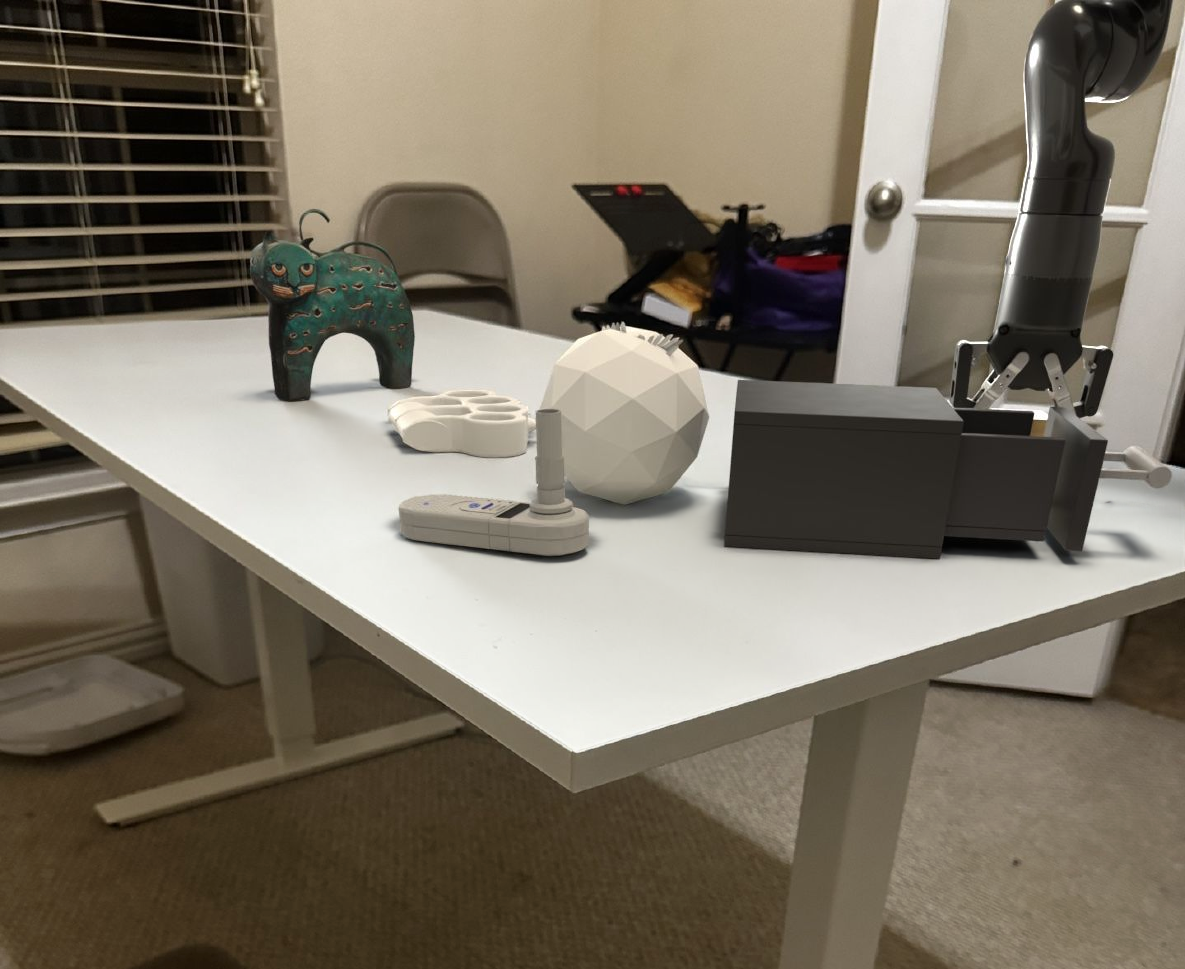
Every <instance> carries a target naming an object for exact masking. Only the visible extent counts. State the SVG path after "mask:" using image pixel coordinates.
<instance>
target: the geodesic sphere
mask: <svg viewBox="0 0 1185 969" xmlns="http://www.w3.org/2000/svg"><path fill="white" fill-rule="evenodd" d="M673 336H674V334H671V333H670V334H668V335H666V336H664V334H663V333H659V332H657V331H653V330H648V329H644V328H638V327H633V326H627V325H626V323H625V322H624V321H621V323H619V322H616V323H615V322H612V323H611V326H610V325H609V324H607V325H606V327H605V326H604V325H603V326H602V327H601V330H600V331H597V332H594V333H591V334H588V335H585V336H582V337H579V338H577V339H576V340H575V341H574V342H573V343H572V344H571V346H570V347H569V348H568V349H567V350H566V351H565V352H563V354H562V356H561V357H559V358H558V360H557V361H555V363H554V364H553V368H552V371H551V374H550V376H549V379H548V383H547V385H546V389H545V392H544V394H543V397H542V400H541V404H540V406H539V409H538V410H540V409H558V410H561V432H562V456H563V457H564V478H566V480H567V481H568V482H569V483H570V484H571V485H572V486H573V487H574V488H575V489H576V490H577V491H578V492H579V493H582V494H583V493H584V494H585V495H589V496H592V497H596V498H599V499H603V500H606V501H610V502H613V503H617V504H620V505H624V506H625V505H628V504H632V503H635V502H638V501H642V500H645V499H646V500H647V499H649V498H652V497H656V496H659V495H663V494H667V493H669V492H670V491H671V490H672V489H673V487H674V486H675V485H676V484H677V483H678V481H679V480H680V479H681V478H682V476H684V474H685V473H686V471H687V470H688V469H689V468H690V466H691V465H692V464H693V463H694V462H695V460H696V459H697V458H698V455H699V452H700V449H701V447H702V442H703V440H704V436H705V433H706V430H707V426H708V423H709V420H710V413H709V408H708V404H707V400H706V396H705V391H704V387H703V381H702V378H701V377H702V376H701V374H700V370H699V369H700V368H699V365H698V364H697V363H696V362H695V361H694V360H692V359H691V358H690V357H689V356H688V355H687V354H686V353H685V352H683V351H682V350H681V349H680V348H679V345H681V344H682V343H683V342H684V339H683V338H681V339H680V337H674V338H673Z"/></svg>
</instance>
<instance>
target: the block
mask: <svg viewBox="0 0 1185 969" xmlns="http://www.w3.org/2000/svg"><path fill="white" fill-rule="evenodd" d="M989 409H995V408H990V407H989ZM998 409H999V410H1018V409H1013V408H998ZM1021 410H1022V411H1033V412H1034V413H1035V414H1034V419H1033V424H1032V429H1031V434H1030V436H1040V437H1044V432H1045V428H1046V423H1047V418H1048V413H1046V412H1045V411H1044V410H1041V409H1040V410H1039V409H1021Z"/></svg>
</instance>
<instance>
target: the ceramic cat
mask: <svg viewBox="0 0 1185 969" xmlns="http://www.w3.org/2000/svg"><path fill="white" fill-rule="evenodd" d="M313 213H314V214H318V215H320V216H321V217H322V218H324V220H325V221H326V222H327V224H329V223H330V222H331V221H330V218H329V215H327V213H326V212H325V211H323V210H321V209H318V208H311V209H308V210H306V211H304V212H303V213H302V214H301V215H300V218H299V220H298V232H299V238H300V240H299V241H296V242H290V241H287V240H282V239H278V238H277V237H276V236H275V235H274V233H273V231H271V229H268V230H267V231H266V232H265V233H264V235H263V236H264V237H263V239H262V242H261V243H259V244H257V245H256V246H255V247H254V248H253V249H252V251H251V254H250V258H249V260H250V262H249V263H250V265H249V271H250V272H249V273H250V278H251V281H252V284H253V286H254V287H255V289H256V290H257V291H258V293H259V294H260V295H261V296H262V297H264V298H265V299H266V301H267V303H268V314H267V315H268V321H267V322H268V332H267V333H268V334H267V336H268V347H269V353H270V362H271V369H272V370H271V372H272V380H273V388H274V394H275V397H276V398H278V399H280V400H282V401H287V402H290V403H291V402H298V401H306V400H310V398H311V391H312V390H311V389H312V388H311V385H312V378H313V369H314V365H315V363H316V359H317V357H318V355H319V353H320V350H321V349H322V347H323V345H324V344H325V342H326V341H327V340H328V339H330V338H332V337H334V336H336V335H339V334H352V335H355V336H358V337H359V338H362V339H363V340H364V341H365V342H367V343H368V344H369V346H371V348H372V349H373V351H374V355H375V360H376V363H377V369H378V381H379V385H380V386H381V387H385V388H387V389H396V390H397V389H405V388H410V387H411V386H412V378H413V376H412V375H413V359H414V348H415V341H416V340H415V338H416V336H415V335H416V334H415V333H416V332H415V323H414V315H413V310H412V307H411V303H410V300H409V298H408V297H407V294H406V291H405V289H404V286H403V284H402V282H401V280H400V278H399V275H398V271H397V267H396V265H395V262H394V259H393V258H392V256H391V255H390V253H389V252H388V251H387V250H386V248H384V247H382V246H379V245H378V244H375V243H372V242H367V241H359V240H355V241H350V242H347V243H344V244H342V245H340V246H338V247H335V248H333V249H331V250H329V251H326V252H319V251H317V250H314V249H312V248H311V247H310V245H311V244H312V242H313V241H314V237H306V238H304V236H303V231H302V230H303V229H302V225H303V221H304V219H305V218H306V216H307V215H309V214H313ZM352 246H364V247H368V248H372V249H374V250H377V251H379V252H380V253H382V254H383V256H385V258H386V259H387V260H388V261H389V263H390V265H391V268H392V269H391V268H390V267H388V266H387V265H386V264H384V263H383V262H382V261H380V260H379V259H377V258H375V257H371V256H369V255H368V256H367V255H364V254H359V253H352V252H347V251H345V250H346V249H347V248H349V247H352Z"/></svg>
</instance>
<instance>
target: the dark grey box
mask: <svg viewBox="0 0 1185 969" xmlns="http://www.w3.org/2000/svg"><path fill="white" fill-rule="evenodd" d="M734 403H735V404H734V412H733V415H734V416H733V427H732V440H731V450H730V451H731V453H730V465H729V479H728V480H729V481H728V491H727V505H726V517H725V528H724V529H725V531H724V544H723V546H724V547H728V548H743V549H744V548H745V549H761V550H780V551H797V552H799V551H800V552H814V553H815V552H816V553H829V554H830V553H831V554H832V553H833V554H850V555H851V554H852V555H868V556H883V557H884V556H886V557H902V558H903V557H904V558H918V559H919V558H920V559H938V560H939V559H941V555H942V550H943V544H944V538H945V536H944V533H945V527H946V522H947V516H948V510H949V504H950V499H951V493H952V487H953V481H954V476H955V470H956V464H957V458H958V452H959V447H960V441H961V434H962V429H963V423H964V421H963V420H962V419H961V417H960V416H959V415H958V414H957V412H956V411H955V410H954V409H953V408H954V407H953V406H952V405H951V403H950V402H949V401H948V400H947V399H946V398H945V397H944V396H943V394H942V393H941V392H940V391H939V389H938V388H937V387H923V386H899V385H877V384H876V385H874V384H853V383H852V384H851V383H828V382H827V383H826V382H805V381H803V382H802V381H781V380H780V381H779V380H778V381H777V380H754V379H753V380H752V379H737V383H736V392H735V402H734ZM952 407H953V408H952Z"/></svg>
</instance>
